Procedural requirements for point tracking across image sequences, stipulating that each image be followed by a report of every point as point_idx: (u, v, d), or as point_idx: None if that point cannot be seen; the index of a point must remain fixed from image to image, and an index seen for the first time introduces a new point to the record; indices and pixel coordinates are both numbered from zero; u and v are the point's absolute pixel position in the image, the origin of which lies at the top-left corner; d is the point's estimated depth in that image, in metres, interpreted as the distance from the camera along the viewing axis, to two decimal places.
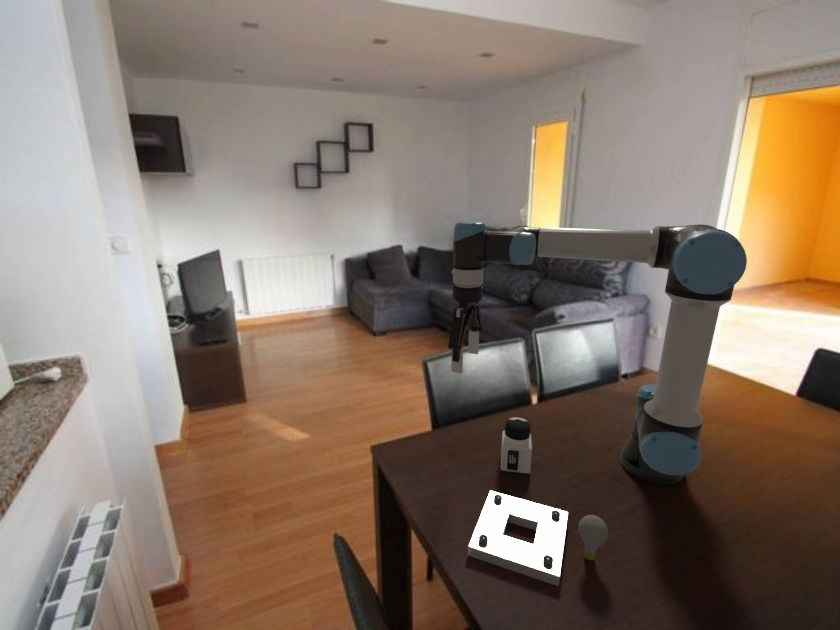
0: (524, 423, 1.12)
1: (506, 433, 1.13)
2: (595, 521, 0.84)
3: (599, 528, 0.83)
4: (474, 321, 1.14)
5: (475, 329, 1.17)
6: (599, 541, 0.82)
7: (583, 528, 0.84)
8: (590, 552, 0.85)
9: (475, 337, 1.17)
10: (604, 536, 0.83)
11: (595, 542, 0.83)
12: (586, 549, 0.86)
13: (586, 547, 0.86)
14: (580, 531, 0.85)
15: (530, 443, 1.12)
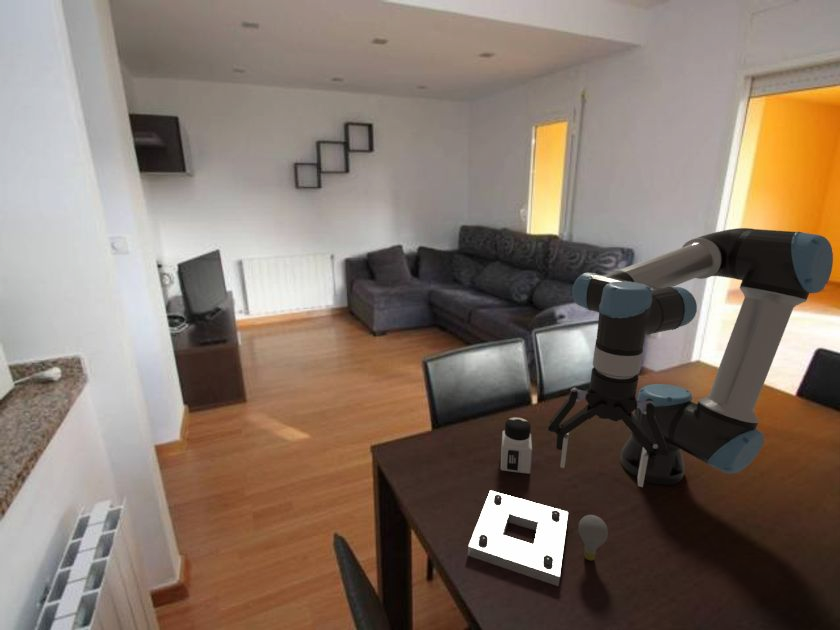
0: (524, 423, 1.12)
1: (506, 433, 1.13)
2: (595, 521, 0.84)
3: (599, 528, 0.83)
4: None
5: None
6: (599, 541, 0.82)
7: (583, 528, 0.84)
8: (590, 552, 0.85)
9: (642, 460, 0.77)
10: (604, 536, 0.83)
11: (595, 542, 0.83)
12: (586, 549, 0.86)
13: (586, 547, 0.86)
14: (580, 531, 0.85)
15: (530, 443, 1.12)
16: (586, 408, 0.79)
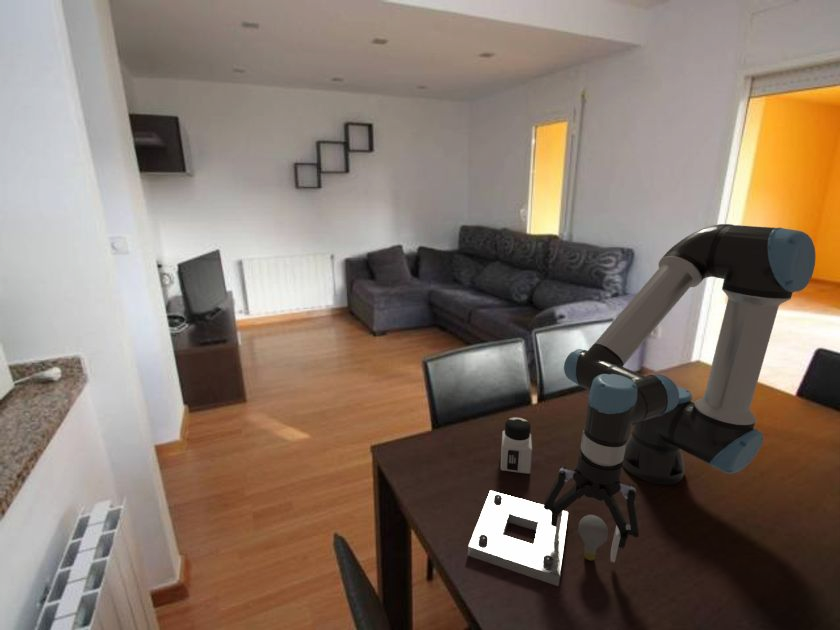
0: (524, 423, 1.12)
1: (506, 433, 1.13)
2: (595, 521, 0.84)
3: (599, 528, 0.83)
4: None
5: None
6: (599, 541, 0.82)
7: (583, 528, 0.84)
8: (590, 552, 0.85)
9: (614, 538, 0.83)
10: (604, 536, 0.83)
11: (595, 542, 0.82)
12: (586, 549, 0.86)
13: (586, 547, 0.86)
14: (580, 531, 0.85)
15: (530, 443, 1.12)
16: (575, 487, 0.84)
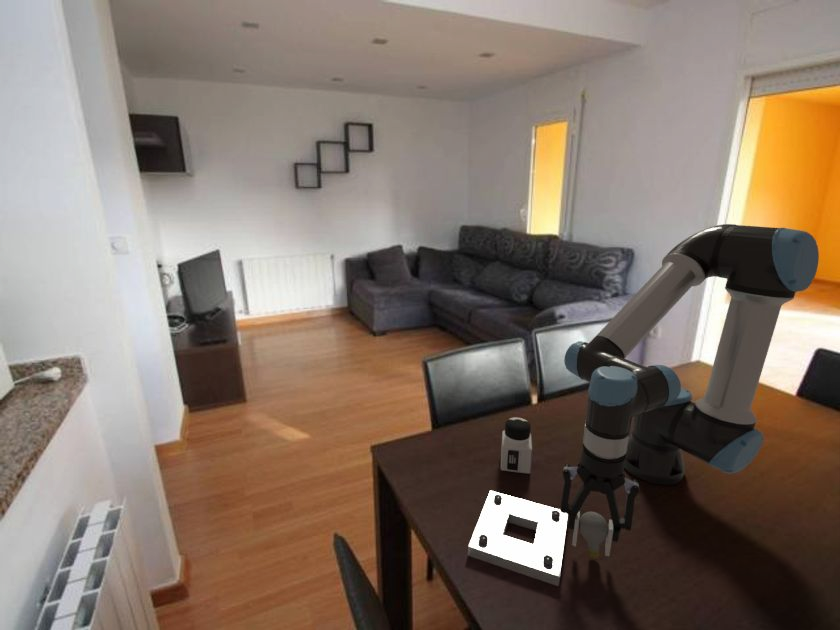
0: (524, 423, 1.12)
1: (506, 433, 1.13)
2: (593, 517, 0.84)
3: (597, 524, 0.83)
4: (609, 506, 0.81)
5: (613, 524, 0.83)
6: (599, 537, 0.82)
7: (582, 525, 0.84)
8: (593, 549, 0.85)
9: (608, 532, 0.83)
10: (604, 532, 0.83)
11: (595, 538, 0.83)
12: (589, 547, 0.86)
13: (589, 545, 0.86)
14: (580, 529, 0.85)
15: (530, 443, 1.12)
16: (583, 484, 0.84)
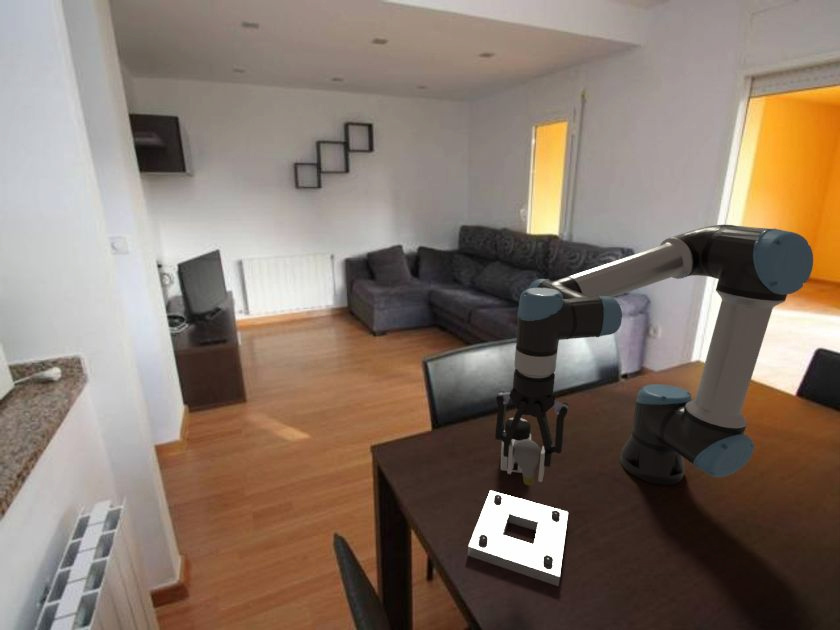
0: (524, 423, 1.12)
1: None
2: (527, 443, 0.85)
3: (530, 448, 0.84)
4: None
5: (545, 449, 0.84)
6: (532, 462, 0.83)
7: (516, 451, 0.85)
8: (527, 476, 0.86)
9: None
10: (536, 456, 0.84)
11: (528, 462, 0.83)
12: (523, 474, 0.87)
13: (523, 472, 0.86)
14: (514, 455, 0.86)
15: None
16: None
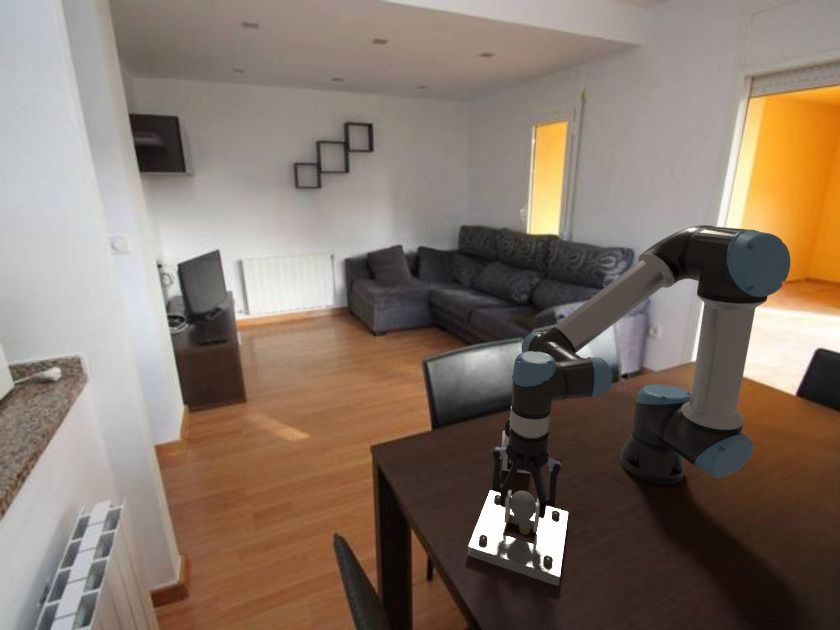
0: None
1: (506, 433, 1.13)
2: (522, 495, 0.89)
3: (525, 501, 0.88)
4: None
5: None
6: (527, 514, 0.87)
7: (512, 503, 0.89)
8: (523, 526, 0.90)
9: None
10: (531, 509, 0.87)
11: (523, 515, 0.87)
12: (519, 524, 0.91)
13: (519, 522, 0.90)
14: (510, 507, 0.90)
15: None
16: (512, 464, 0.88)
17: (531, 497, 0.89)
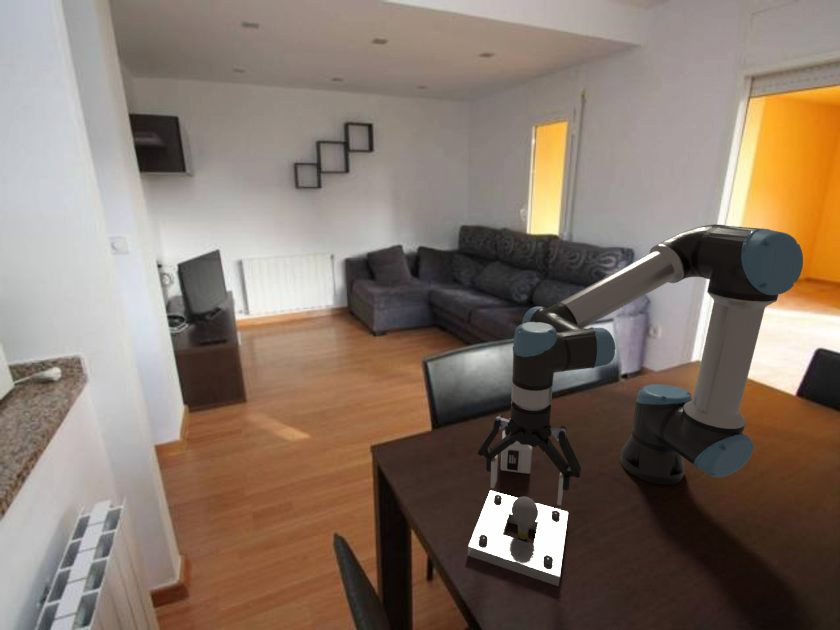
0: None
1: (506, 433, 1.13)
2: (526, 501, 0.89)
3: (528, 508, 0.88)
4: None
5: None
6: (529, 521, 0.88)
7: (515, 508, 0.89)
8: (522, 531, 0.90)
9: None
10: (533, 516, 0.88)
11: (525, 521, 0.88)
12: (519, 529, 0.91)
13: (519, 527, 0.91)
14: (512, 512, 0.90)
15: None
16: (510, 434, 0.87)
17: (534, 504, 0.89)
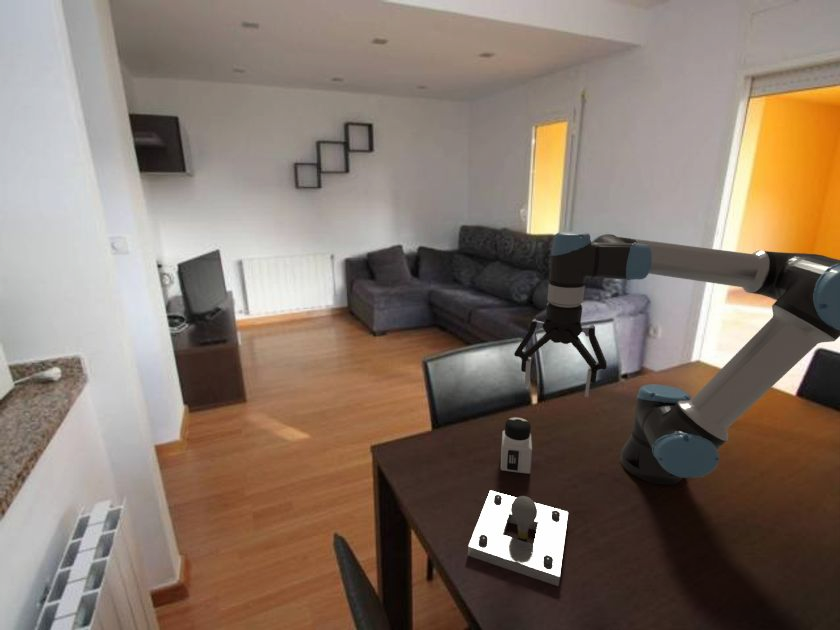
0: (524, 423, 1.12)
1: (506, 433, 1.13)
2: (525, 501, 0.89)
3: (527, 507, 0.88)
4: None
5: None
6: (528, 520, 0.88)
7: (514, 508, 0.89)
8: (522, 531, 0.90)
9: (587, 375, 0.96)
10: (533, 515, 0.88)
11: (524, 521, 0.88)
12: (519, 529, 0.91)
13: (518, 527, 0.91)
14: (511, 511, 0.90)
15: (530, 443, 1.12)
16: (544, 336, 0.99)
17: (533, 503, 0.89)
